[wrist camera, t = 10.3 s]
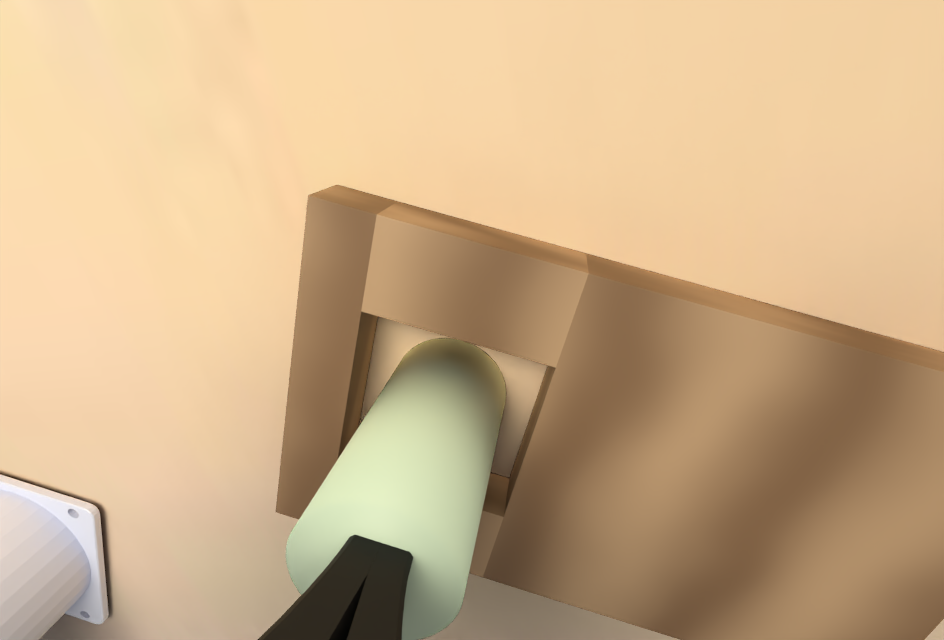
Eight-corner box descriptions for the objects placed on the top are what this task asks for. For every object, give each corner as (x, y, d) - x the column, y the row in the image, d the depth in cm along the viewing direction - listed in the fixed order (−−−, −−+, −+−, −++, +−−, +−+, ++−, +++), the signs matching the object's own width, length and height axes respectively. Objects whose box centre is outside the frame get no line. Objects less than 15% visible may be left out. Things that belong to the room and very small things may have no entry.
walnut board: (300, 476, 21) (275, 511, 19) (337, 184, 16) (308, 195, 15) (841, 644, 20) (869, 699, 18) (1057, 383, 15) (1124, 422, 13)
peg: (387, 418, 20) (278, 608, 12) (406, 324, 18) (294, 478, 11) (490, 450, 19) (442, 662, 12) (519, 357, 18) (484, 538, 10)
